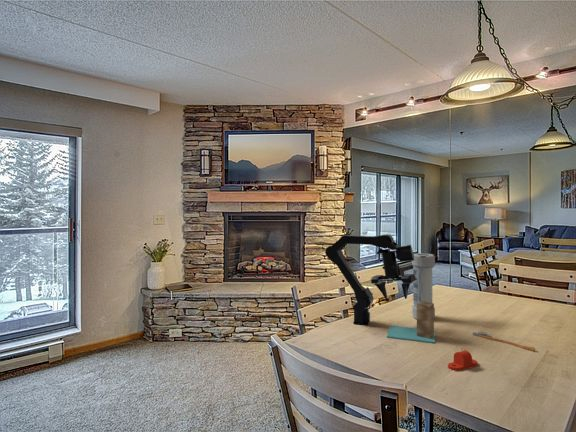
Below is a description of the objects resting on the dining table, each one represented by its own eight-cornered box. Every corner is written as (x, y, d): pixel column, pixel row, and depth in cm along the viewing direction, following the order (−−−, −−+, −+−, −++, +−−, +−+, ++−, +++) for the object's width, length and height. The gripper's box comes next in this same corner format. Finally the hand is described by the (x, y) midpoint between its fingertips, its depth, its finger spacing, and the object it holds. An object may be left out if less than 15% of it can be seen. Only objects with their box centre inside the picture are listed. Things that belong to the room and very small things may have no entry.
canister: (411, 319, 167) (411, 255, 166) (412, 313, 176) (412, 253, 175) (434, 321, 163) (434, 256, 162) (434, 315, 172) (434, 253, 172)
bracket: (454, 372, 114) (454, 357, 113) (445, 367, 117) (445, 352, 117) (480, 365, 118) (480, 350, 118) (470, 361, 122) (470, 346, 122)
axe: (541, 348, 132) (541, 343, 132) (534, 353, 128) (534, 348, 128) (479, 332, 150) (479, 328, 150) (471, 336, 146) (471, 332, 146)
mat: (386, 337, 144) (386, 335, 144) (390, 326, 157) (390, 325, 157) (434, 343, 137) (434, 341, 137) (434, 331, 150) (434, 330, 150)
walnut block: (416, 335, 144) (416, 303, 143) (421, 332, 147) (421, 301, 147) (429, 338, 140) (429, 305, 140) (433, 335, 144) (433, 303, 144)
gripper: (417, 258, 156) (423, 294, 156) (379, 261, 169) (384, 294, 168) (407, 262, 148) (413, 300, 147) (367, 265, 160) (373, 299, 160)
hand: (395, 298), depth 156 cm, fingers open, 9 cm apart
